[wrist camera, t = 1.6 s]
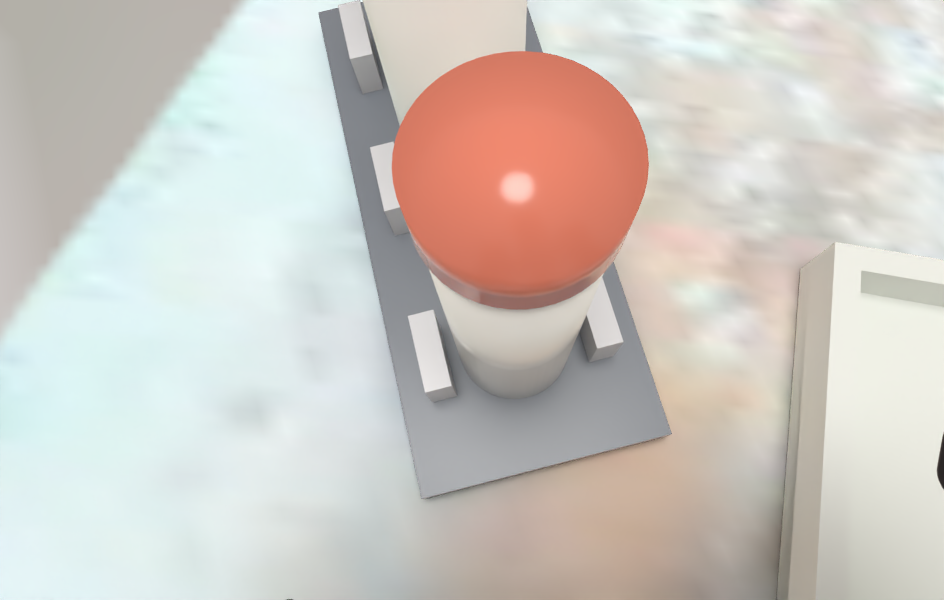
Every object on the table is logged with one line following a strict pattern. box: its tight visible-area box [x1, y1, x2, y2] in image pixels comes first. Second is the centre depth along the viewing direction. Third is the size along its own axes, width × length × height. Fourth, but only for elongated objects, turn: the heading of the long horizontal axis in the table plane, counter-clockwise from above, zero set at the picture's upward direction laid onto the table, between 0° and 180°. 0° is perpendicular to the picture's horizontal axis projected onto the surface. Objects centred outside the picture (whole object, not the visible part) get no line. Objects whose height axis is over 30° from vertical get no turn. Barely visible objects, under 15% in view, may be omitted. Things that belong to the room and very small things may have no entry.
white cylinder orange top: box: [392, 51, 649, 399], centre depth 15 cm, size 4×4×12 cm
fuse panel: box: [319, 0, 672, 499], centre depth 17 cm, size 19×8×13 cm, turn 14°
